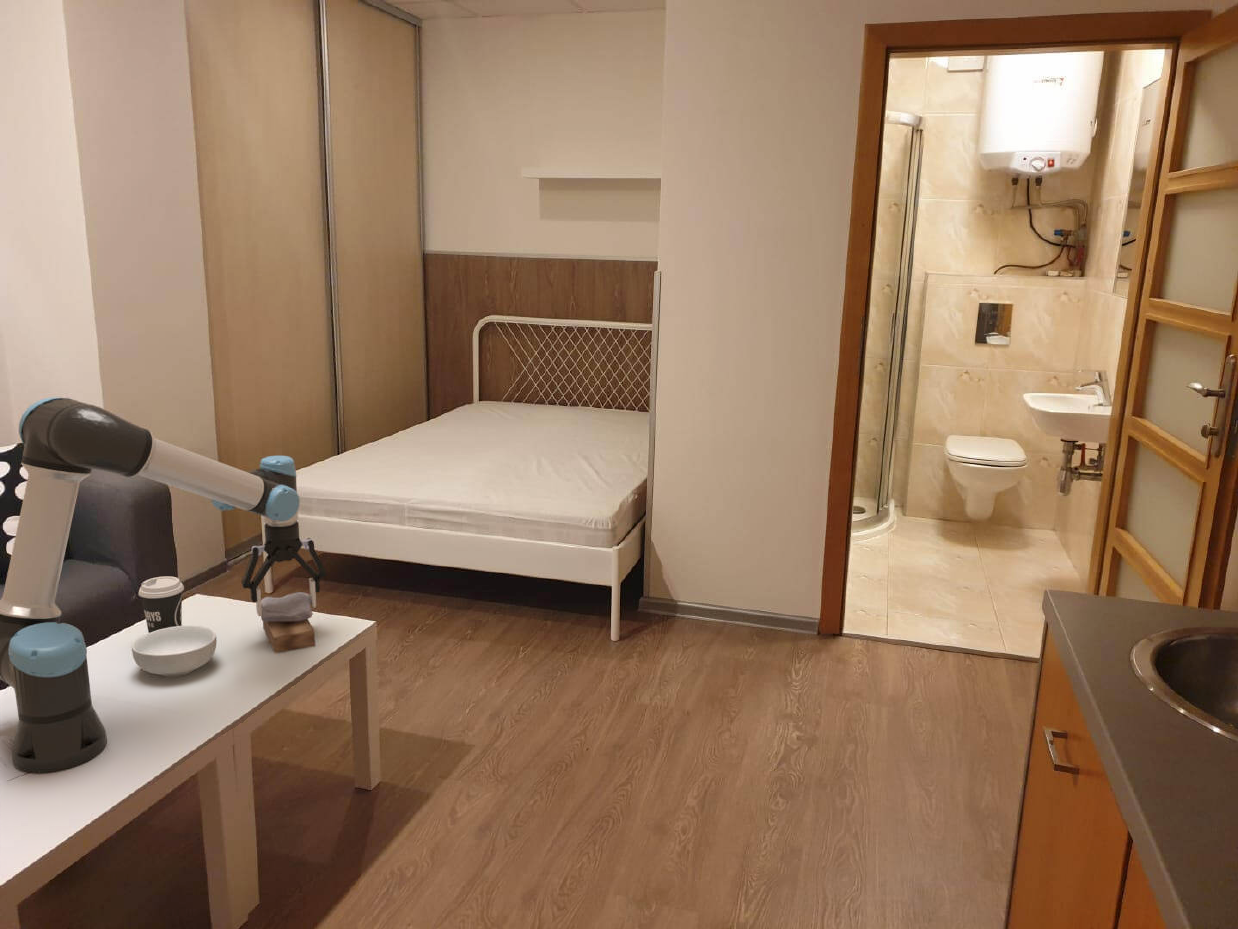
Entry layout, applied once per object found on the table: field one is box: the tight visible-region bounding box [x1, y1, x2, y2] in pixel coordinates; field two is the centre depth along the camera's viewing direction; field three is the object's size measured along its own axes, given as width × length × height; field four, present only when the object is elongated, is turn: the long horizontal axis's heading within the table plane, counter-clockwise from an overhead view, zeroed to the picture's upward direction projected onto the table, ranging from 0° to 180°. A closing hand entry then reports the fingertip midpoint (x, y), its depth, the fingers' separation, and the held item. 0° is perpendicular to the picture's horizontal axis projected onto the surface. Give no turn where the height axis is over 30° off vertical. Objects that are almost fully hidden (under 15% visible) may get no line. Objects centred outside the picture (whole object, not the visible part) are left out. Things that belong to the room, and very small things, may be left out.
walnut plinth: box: [262, 619, 316, 654], centre depth 228 cm, size 9×16×4 cm, turn 29°
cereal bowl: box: [131, 625, 217, 678], centre depth 210 cm, size 17×17×7 cm
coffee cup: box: [138, 575, 185, 633], centre depth 222 cm, size 10×10×15 cm
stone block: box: [260, 591, 314, 622], centre depth 228 cm, size 12×5×10 cm
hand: (286, 609), depth 227 cm, fingers closed on stone block, 12 cm apart
